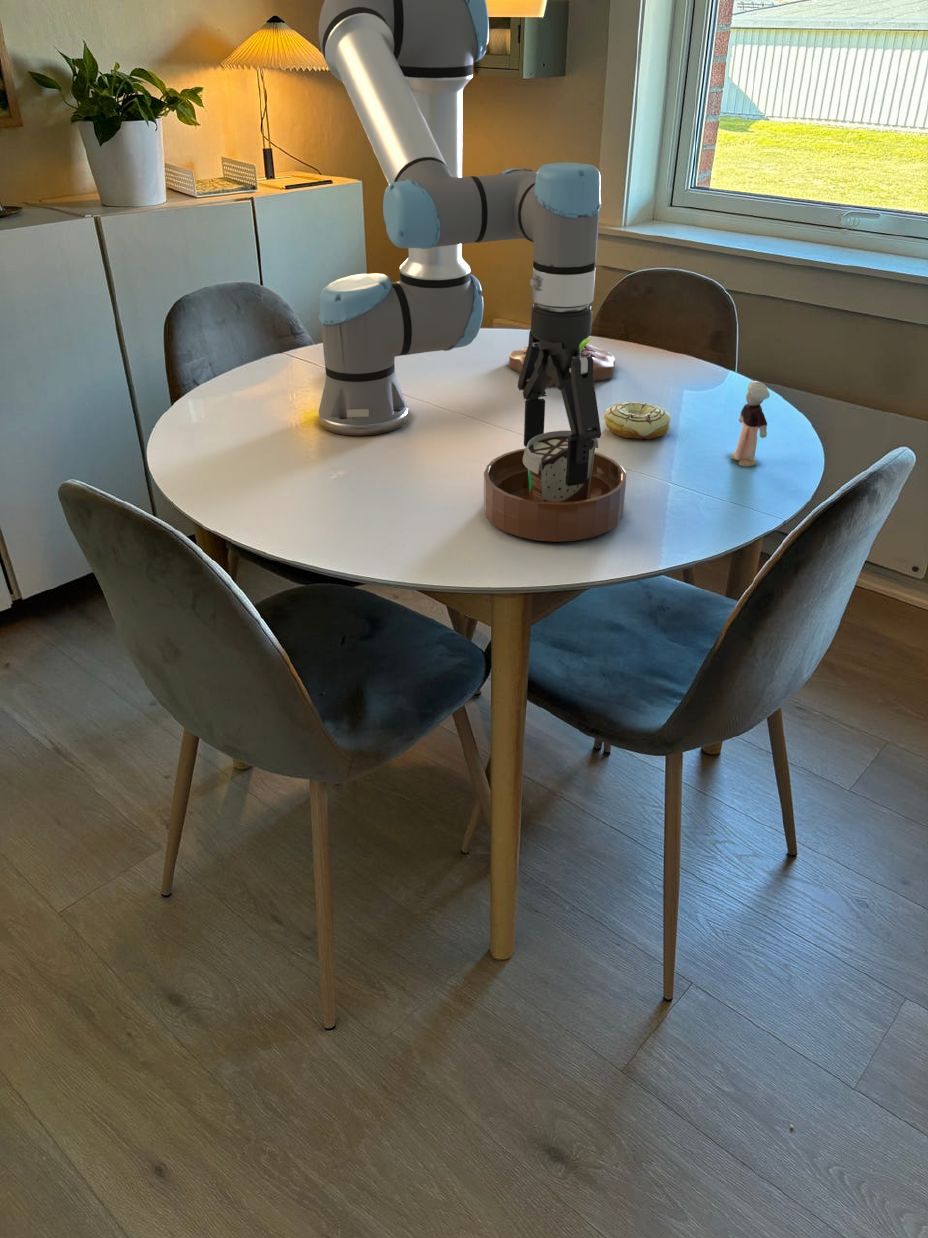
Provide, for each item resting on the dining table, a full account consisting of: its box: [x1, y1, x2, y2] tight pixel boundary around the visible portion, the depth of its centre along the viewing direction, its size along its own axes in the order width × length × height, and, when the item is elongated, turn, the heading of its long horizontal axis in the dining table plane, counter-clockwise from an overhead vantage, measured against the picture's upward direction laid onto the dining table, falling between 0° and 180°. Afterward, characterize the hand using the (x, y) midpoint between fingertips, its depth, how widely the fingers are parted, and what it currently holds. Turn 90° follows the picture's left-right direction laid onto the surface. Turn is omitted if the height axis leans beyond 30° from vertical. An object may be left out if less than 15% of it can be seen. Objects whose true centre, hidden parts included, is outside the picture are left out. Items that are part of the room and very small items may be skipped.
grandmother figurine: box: [730, 380, 771, 468], centre depth 140 cm, size 8×4×13 cm, turn 23°
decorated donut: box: [603, 401, 671, 440], centre depth 154 cm, size 10×11×4 cm
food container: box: [523, 430, 599, 502], centre depth 127 cm, size 12×6×10 cm, turn 134°
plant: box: [508, 338, 616, 388], centre depth 180 cm, size 20×20×11 cm
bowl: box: [483, 448, 627, 543], centre depth 128 cm, size 19×19×6 cm
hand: (553, 463), depth 126 cm, fingers open, 13 cm apart
